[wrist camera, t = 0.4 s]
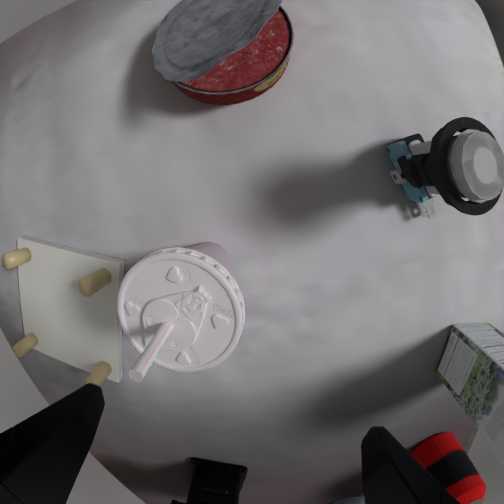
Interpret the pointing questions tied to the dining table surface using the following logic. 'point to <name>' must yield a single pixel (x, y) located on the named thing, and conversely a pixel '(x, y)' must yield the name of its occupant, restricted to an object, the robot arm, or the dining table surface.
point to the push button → (451, 167)
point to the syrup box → (477, 378)
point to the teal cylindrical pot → (351, 501)
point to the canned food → (223, 48)
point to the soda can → (451, 467)
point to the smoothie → (181, 309)
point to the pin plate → (70, 306)
